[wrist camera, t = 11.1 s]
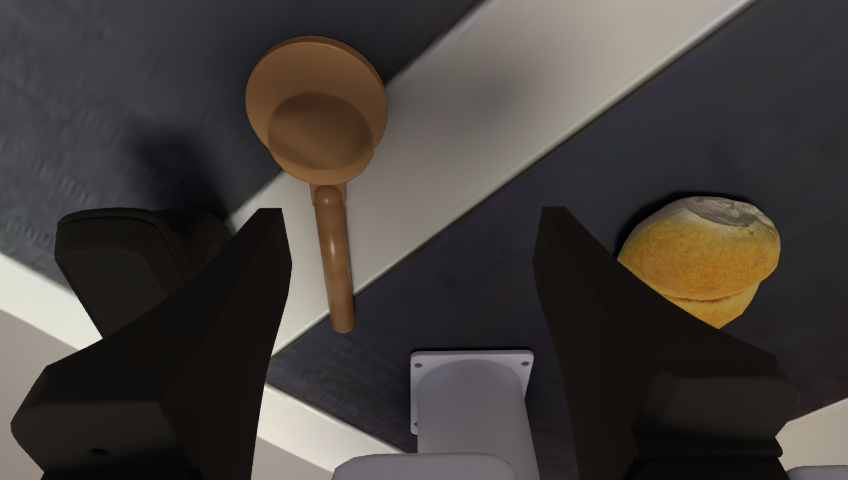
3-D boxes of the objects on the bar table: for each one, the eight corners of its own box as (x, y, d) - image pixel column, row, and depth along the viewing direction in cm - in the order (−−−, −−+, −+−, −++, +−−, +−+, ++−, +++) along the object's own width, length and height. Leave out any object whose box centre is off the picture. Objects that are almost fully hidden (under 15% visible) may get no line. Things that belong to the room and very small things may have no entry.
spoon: (394, 319, 33) (393, 337, 32) (295, 320, 32) (291, 338, 31) (385, 35, 22) (384, 47, 20) (235, 34, 21) (227, 47, 20)
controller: (201, 313, 32) (137, 478, 24) (116, 127, 24) (-20, 284, 16) (273, 310, 32) (231, 474, 24) (212, 122, 24) (121, 278, 16)
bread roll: (583, 306, 32) (602, 360, 29) (641, 184, 27) (671, 235, 24) (710, 316, 33) (741, 369, 30) (792, 199, 28) (841, 250, 24)
